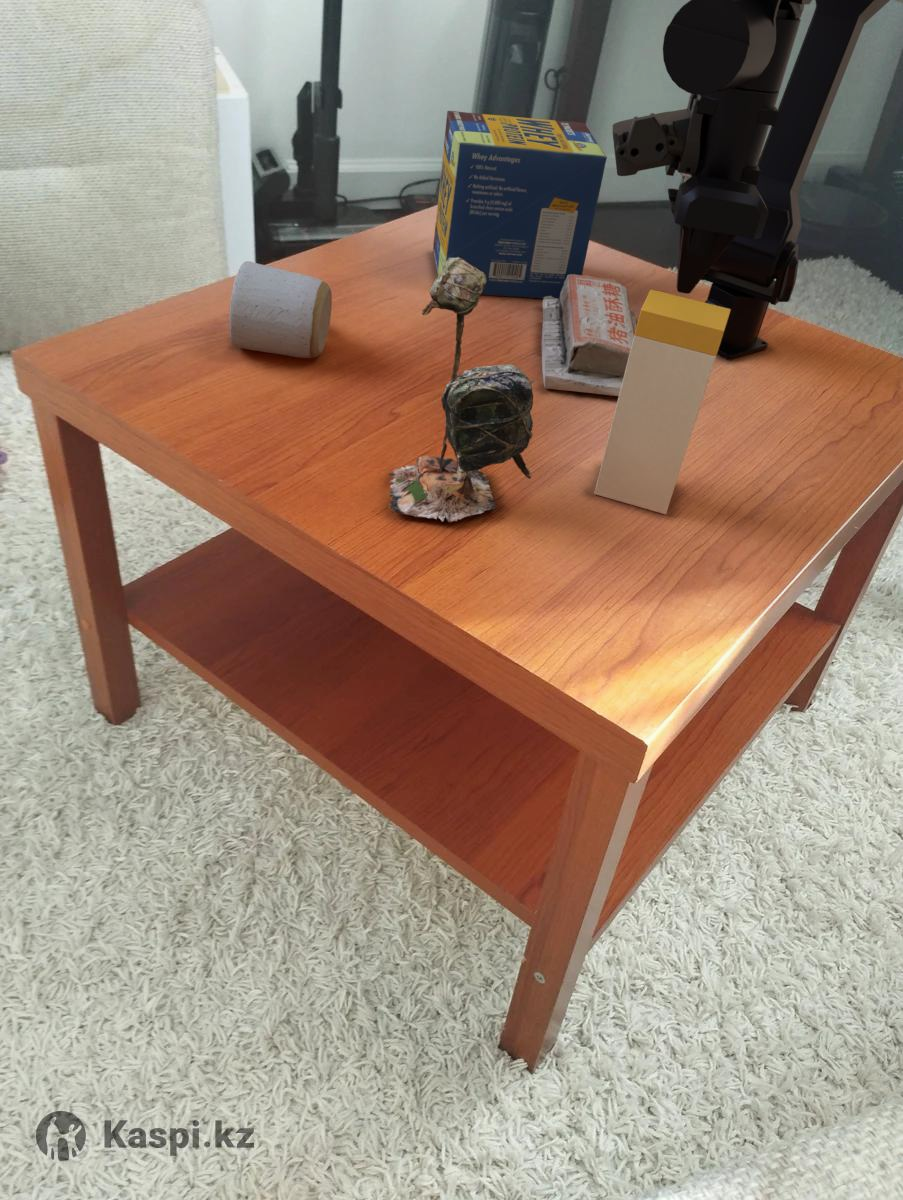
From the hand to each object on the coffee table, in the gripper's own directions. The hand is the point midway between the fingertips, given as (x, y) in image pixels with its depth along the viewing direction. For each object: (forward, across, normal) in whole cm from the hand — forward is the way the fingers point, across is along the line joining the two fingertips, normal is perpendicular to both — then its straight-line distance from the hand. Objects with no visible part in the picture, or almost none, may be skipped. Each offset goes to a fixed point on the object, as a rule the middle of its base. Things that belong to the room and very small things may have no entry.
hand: (682, 291), depth 82 cm
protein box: (+11, -28, -16) cm, 34 cm away
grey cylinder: (+13, -4, -35) cm, 37 cm away
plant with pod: (+14, +16, -15) cm, 26 cm away
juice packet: (+14, +11, -1) cm, 17 cm away
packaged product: (+12, -13, -6) cm, 18 cm away
